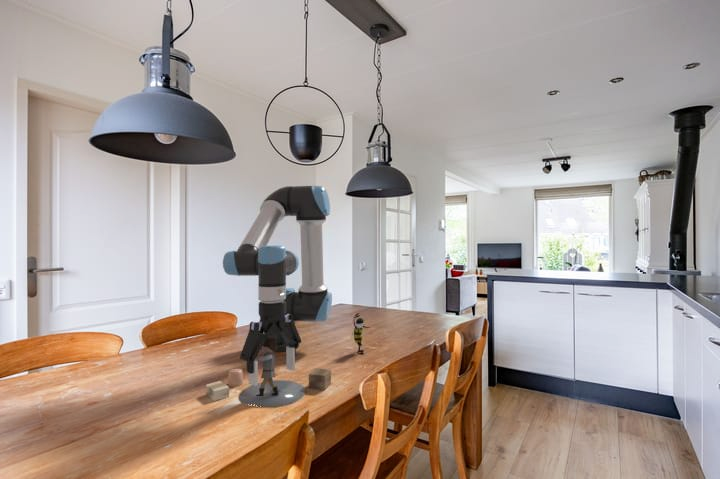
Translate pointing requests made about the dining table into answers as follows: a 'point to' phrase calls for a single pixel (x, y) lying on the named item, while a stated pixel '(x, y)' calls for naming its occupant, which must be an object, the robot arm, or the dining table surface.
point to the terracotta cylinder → (235, 377)
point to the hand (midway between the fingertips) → (272, 376)
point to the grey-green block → (217, 390)
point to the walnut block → (320, 379)
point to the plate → (286, 396)
